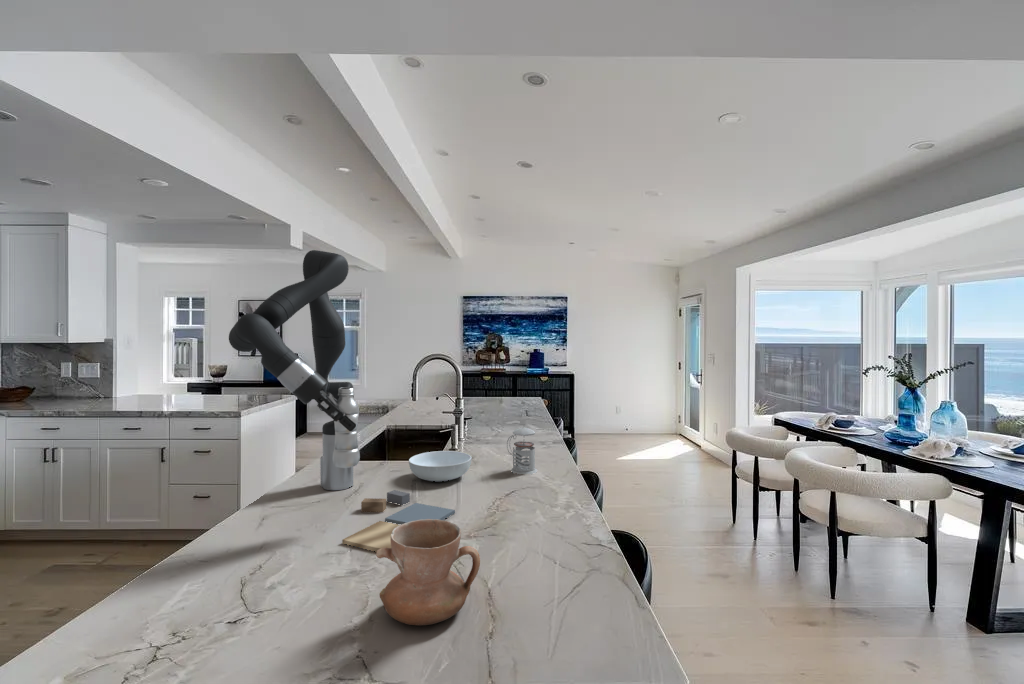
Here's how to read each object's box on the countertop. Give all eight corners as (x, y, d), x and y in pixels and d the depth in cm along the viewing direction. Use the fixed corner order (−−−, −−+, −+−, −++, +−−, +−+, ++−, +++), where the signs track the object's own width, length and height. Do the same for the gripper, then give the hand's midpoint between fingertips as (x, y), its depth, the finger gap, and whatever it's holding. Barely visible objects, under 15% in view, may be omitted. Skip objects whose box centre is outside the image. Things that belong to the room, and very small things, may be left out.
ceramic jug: (367, 638, 81) (369, 550, 80) (382, 591, 95) (383, 516, 95) (480, 634, 82) (482, 548, 82) (478, 588, 97) (479, 515, 96)
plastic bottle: (365, 465, 129) (365, 387, 129) (348, 472, 123) (348, 390, 122) (344, 462, 131) (344, 386, 131) (326, 469, 125) (326, 388, 124)
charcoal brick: (387, 502, 146) (386, 492, 146) (394, 500, 148) (394, 489, 148) (402, 506, 142) (402, 496, 142) (409, 503, 145) (409, 493, 145)
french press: (528, 476, 172) (528, 403, 171) (500, 471, 178) (500, 400, 177) (542, 469, 180) (542, 399, 179) (515, 465, 186) (515, 397, 186)
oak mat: (342, 543, 117) (342, 539, 117) (379, 524, 128) (379, 520, 128) (386, 554, 111) (386, 550, 111) (421, 533, 123) (421, 529, 123)
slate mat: (385, 522, 130) (385, 518, 130) (415, 506, 142) (415, 502, 142) (426, 530, 125) (426, 526, 125) (454, 513, 136) (454, 509, 136)
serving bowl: (420, 468, 182) (420, 449, 182) (477, 470, 179) (477, 451, 179) (399, 486, 161) (399, 464, 161) (463, 488, 158) (463, 467, 158)
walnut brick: (361, 512, 138) (361, 502, 137) (364, 509, 141) (364, 498, 140) (383, 513, 137) (383, 502, 137) (386, 509, 140) (386, 498, 140)
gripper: (312, 371, 117) (365, 420, 121) (315, 367, 131) (363, 410, 135) (288, 395, 116) (342, 443, 120) (293, 388, 129) (342, 431, 133)
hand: (353, 425), depth 127 cm, fingers closed on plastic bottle, 6 cm apart
